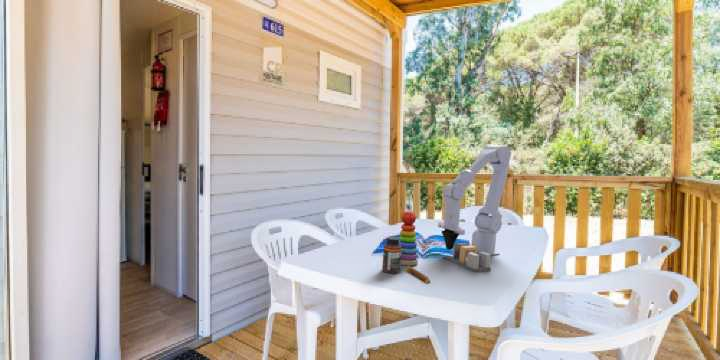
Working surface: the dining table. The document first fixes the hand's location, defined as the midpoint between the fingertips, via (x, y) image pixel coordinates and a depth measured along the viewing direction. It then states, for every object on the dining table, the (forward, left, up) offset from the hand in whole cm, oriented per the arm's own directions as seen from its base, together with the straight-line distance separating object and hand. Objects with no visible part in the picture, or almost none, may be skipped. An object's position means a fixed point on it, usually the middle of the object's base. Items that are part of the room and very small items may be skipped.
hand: (449, 249), depth 153 cm
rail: (+10, 0, -3) cm, 11 cm away
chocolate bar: (+18, -25, -3) cm, 32 cm away
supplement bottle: (+11, -31, -3) cm, 34 cm away
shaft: (+10, 0, -1) cm, 10 cm away
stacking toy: (+4, -21, -3) cm, 22 cm away
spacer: (+11, 0, -2) cm, 11 cm away
